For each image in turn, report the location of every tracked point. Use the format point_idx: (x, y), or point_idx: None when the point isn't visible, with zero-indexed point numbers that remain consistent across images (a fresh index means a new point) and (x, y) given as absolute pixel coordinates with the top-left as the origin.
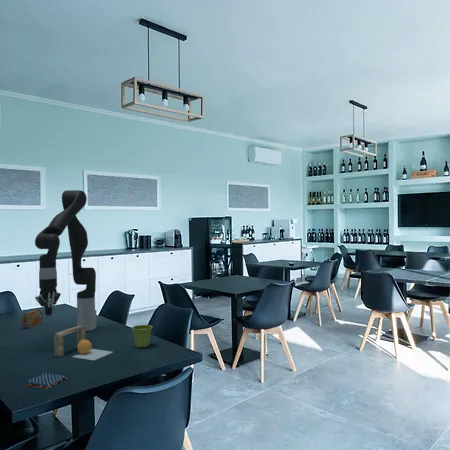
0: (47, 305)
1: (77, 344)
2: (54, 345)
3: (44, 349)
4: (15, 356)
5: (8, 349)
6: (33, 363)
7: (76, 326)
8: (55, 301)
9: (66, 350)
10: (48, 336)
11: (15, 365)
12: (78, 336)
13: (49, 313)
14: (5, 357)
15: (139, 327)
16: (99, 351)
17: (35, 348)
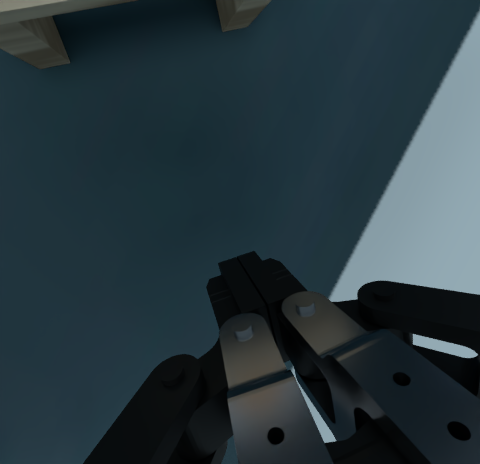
0: (338, 312)
1: (63, 54)
2: (267, 3)
3: (221, 194)
4: (347, 192)
5: None
6: (369, 5)
7: (10, 8)
8: (159, 417)
9: (150, 67)
10: (100, 399)
11: (416, 58)
12: (36, 23)
13: (254, 258)
14: (371, 211)
15: None
16: None
17: (239, 245)
